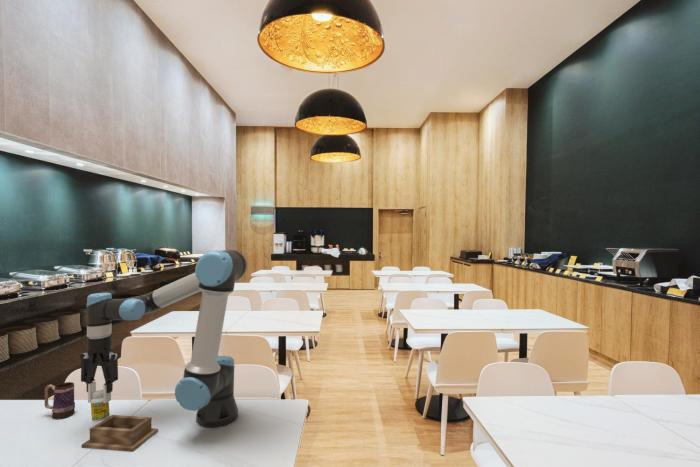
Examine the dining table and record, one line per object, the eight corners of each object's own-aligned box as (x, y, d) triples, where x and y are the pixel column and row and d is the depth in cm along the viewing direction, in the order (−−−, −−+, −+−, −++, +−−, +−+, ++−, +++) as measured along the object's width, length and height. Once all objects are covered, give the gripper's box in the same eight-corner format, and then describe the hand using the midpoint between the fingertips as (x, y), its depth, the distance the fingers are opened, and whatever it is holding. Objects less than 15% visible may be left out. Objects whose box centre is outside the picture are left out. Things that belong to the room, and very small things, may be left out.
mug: (79, 410, 150) (79, 380, 150) (67, 419, 143) (68, 387, 143) (51, 411, 149) (52, 381, 149) (38, 420, 142) (39, 387, 142)
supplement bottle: (109, 413, 140) (108, 387, 140) (109, 418, 136) (108, 391, 136) (91, 418, 137) (90, 391, 137) (91, 423, 133) (90, 395, 133)
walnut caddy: (158, 431, 134) (158, 415, 134) (132, 451, 121) (133, 434, 121) (111, 428, 136) (111, 412, 136) (81, 447, 123) (81, 430, 123)
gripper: (130, 334, 140) (130, 397, 139) (84, 333, 142) (84, 396, 141) (115, 339, 132) (115, 406, 132) (67, 338, 134) (67, 405, 134)
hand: (99, 401), depth 136 cm, fingers closed on supplement bottle, 5 cm apart
